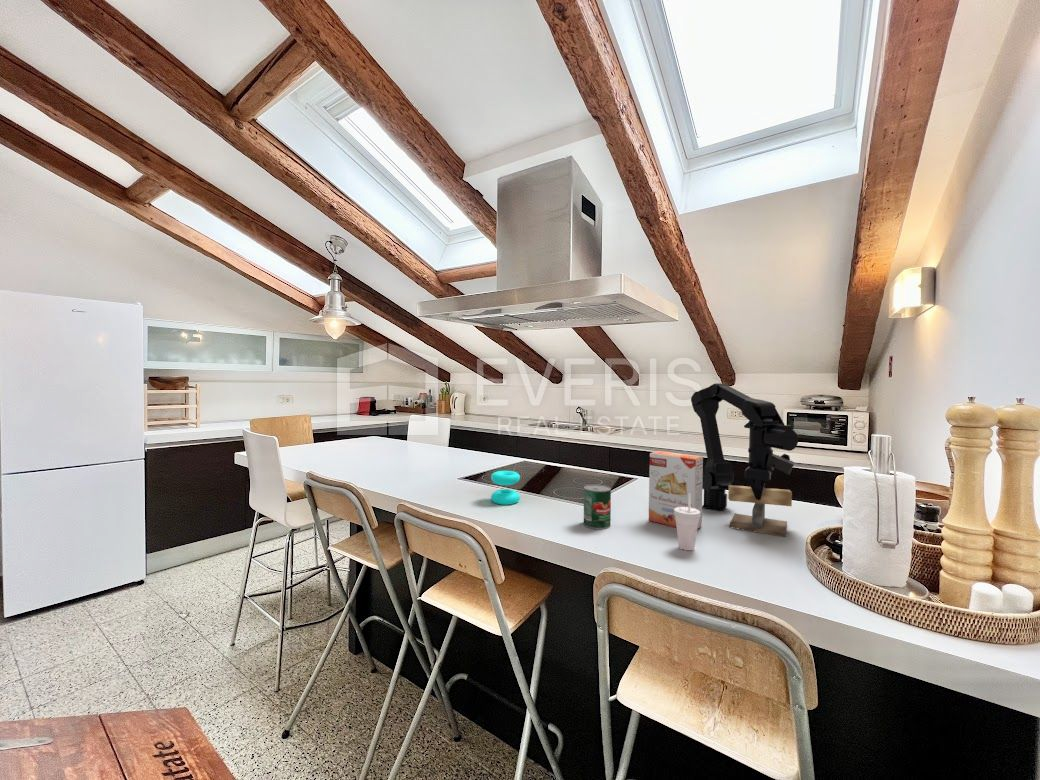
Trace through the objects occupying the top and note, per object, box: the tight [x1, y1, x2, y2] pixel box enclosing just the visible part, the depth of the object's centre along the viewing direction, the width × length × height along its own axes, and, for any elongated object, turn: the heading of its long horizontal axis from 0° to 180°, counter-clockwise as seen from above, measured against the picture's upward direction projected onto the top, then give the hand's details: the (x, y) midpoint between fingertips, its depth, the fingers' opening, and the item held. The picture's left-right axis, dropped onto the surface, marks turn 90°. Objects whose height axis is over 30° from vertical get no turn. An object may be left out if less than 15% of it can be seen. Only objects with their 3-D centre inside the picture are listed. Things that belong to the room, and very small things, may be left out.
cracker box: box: [648, 450, 704, 530], centre depth 131 cm, size 14×6×21 cm, turn 47°
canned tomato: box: [583, 484, 612, 530], centre depth 130 cm, size 8×8×11 cm
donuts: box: [490, 470, 521, 506], centre depth 154 cm, size 10×10×10 cm
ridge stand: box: [728, 503, 788, 538], centre depth 130 cm, size 14×12×6 cm
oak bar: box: [727, 484, 793, 507], centre depth 130 cm, size 16×3×4 cm, turn 70°
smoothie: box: [674, 493, 701, 551], centre depth 113 cm, size 6×6×14 cm
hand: (758, 498), depth 130 cm, fingers closed on oak bar, 3 cm apart
